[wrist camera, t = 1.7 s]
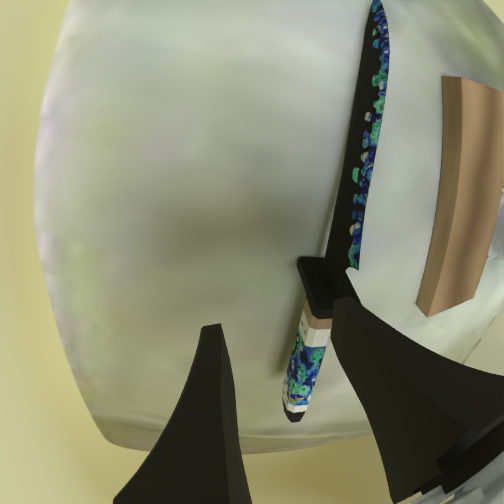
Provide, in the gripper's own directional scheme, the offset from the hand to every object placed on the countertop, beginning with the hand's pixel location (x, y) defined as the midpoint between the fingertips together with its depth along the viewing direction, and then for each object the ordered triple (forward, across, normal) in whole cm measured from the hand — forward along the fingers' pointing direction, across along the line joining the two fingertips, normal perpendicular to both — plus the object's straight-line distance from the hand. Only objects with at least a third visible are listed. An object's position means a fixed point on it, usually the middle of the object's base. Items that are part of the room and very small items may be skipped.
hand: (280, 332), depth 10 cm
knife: (+9, -6, 0) cm, 10 cm away
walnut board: (+8, -18, 0) cm, 20 cm away
